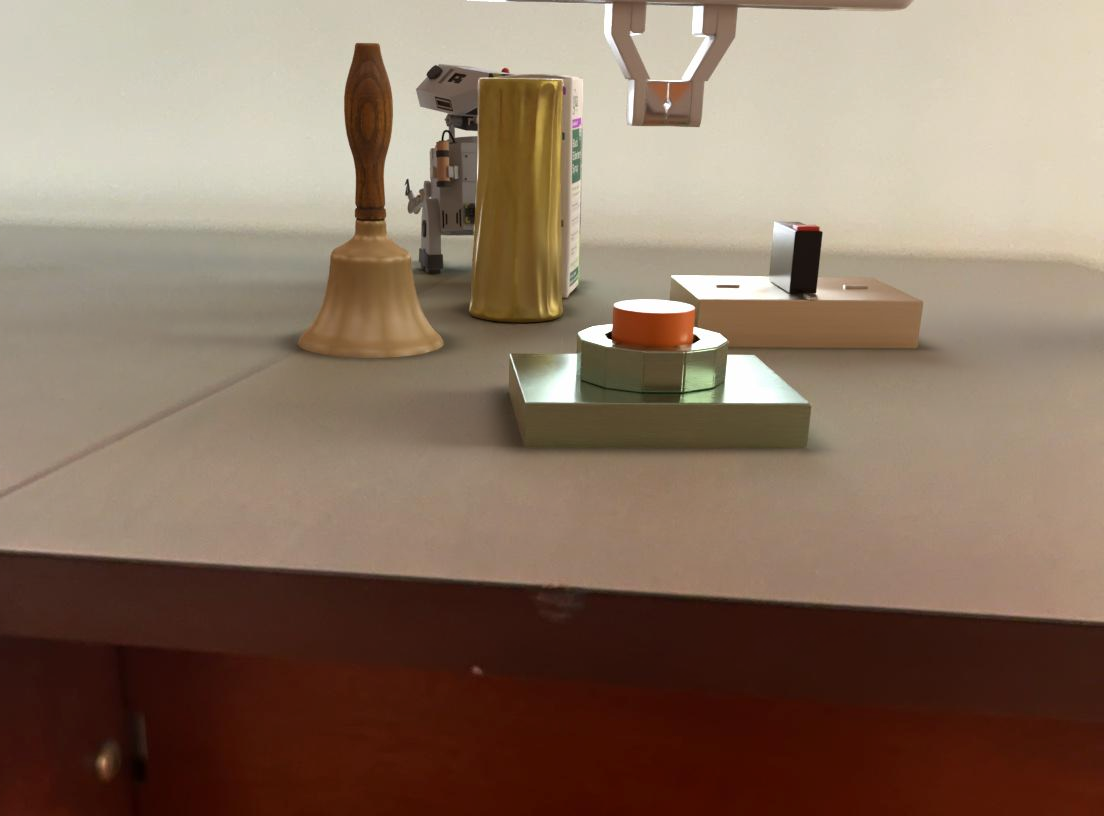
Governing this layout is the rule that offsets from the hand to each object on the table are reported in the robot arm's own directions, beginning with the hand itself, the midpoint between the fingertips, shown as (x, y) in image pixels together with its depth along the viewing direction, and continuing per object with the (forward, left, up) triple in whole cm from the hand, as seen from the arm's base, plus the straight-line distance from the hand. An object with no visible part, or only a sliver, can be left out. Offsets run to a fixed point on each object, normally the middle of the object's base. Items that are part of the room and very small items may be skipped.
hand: (663, 126), depth 55 cm
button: (0, 0, -9) cm, 9 cm away
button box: (0, 0, -13) cm, 13 cm away
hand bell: (+13, -17, -13) cm, 25 cm away
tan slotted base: (-12, -21, -13) cm, 27 cm away
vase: (+4, -28, -13) cm, 31 cm away
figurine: (+6, -50, -13) cm, 52 cm away
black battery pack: (-12, -21, -10) cm, 26 cm away
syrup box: (+2, -38, -13) cm, 40 cm away
